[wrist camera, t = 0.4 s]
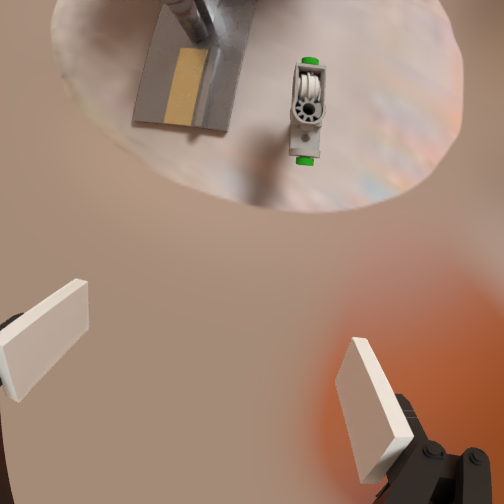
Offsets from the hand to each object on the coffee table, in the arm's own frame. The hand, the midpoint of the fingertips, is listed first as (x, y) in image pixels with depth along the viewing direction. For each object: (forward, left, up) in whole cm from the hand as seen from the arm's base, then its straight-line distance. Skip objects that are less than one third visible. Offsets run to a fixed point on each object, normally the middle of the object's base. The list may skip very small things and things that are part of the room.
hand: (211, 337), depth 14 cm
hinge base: (-22, -10, -25) cm, 35 cm away
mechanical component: (-14, +4, -25) cm, 29 cm away
